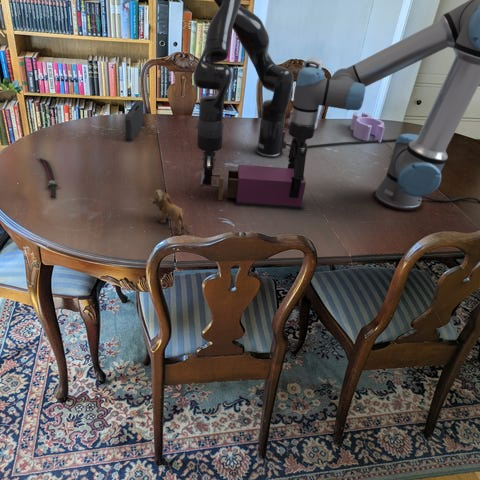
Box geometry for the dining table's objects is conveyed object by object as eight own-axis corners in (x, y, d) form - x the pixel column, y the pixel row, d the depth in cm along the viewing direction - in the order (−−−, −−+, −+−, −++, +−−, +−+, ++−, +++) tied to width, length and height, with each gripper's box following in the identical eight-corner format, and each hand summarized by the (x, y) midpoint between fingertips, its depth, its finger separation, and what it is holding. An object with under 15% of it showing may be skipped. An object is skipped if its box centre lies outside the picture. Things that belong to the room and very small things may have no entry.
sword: (61, 197, 141) (61, 193, 140) (50, 198, 139) (50, 194, 139) (49, 160, 164) (48, 156, 163) (39, 160, 163) (39, 157, 162)
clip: (343, 126, 223) (346, 112, 219) (367, 127, 225) (371, 113, 221) (360, 142, 206) (364, 127, 202) (386, 142, 209) (390, 127, 205)
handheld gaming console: (137, 122, 202) (137, 99, 196) (144, 122, 202) (143, 99, 196) (124, 141, 182) (123, 116, 177) (131, 141, 182) (131, 116, 177)
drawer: (199, 198, 147) (200, 177, 143) (200, 185, 155) (201, 165, 151) (279, 203, 149) (282, 183, 145) (276, 190, 156) (279, 171, 152)
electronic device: (317, 128, 217) (329, 60, 200) (313, 133, 211) (326, 64, 194) (291, 123, 219) (301, 56, 203) (287, 127, 213) (297, 59, 197)
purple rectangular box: (236, 204, 148) (238, 178, 143) (235, 189, 156) (238, 164, 151) (301, 209, 149) (305, 183, 144) (297, 194, 158) (301, 169, 153)
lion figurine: (148, 218, 136) (147, 190, 131) (161, 212, 139) (161, 185, 134) (183, 238, 128) (184, 210, 123) (197, 232, 132) (198, 204, 127)
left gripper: (198, 124, 145) (197, 174, 155) (196, 139, 134) (195, 193, 144) (222, 125, 146) (219, 176, 155) (222, 141, 135) (219, 194, 144)
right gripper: (286, 109, 148) (277, 173, 160) (295, 135, 129) (283, 205, 141) (309, 111, 149) (298, 175, 161) (321, 137, 130) (308, 207, 142)
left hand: (207, 184), depth 149 cm, fingers closed
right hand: (291, 189), depth 151 cm, fingers closed on purple rectangular box, 10 cm apart
